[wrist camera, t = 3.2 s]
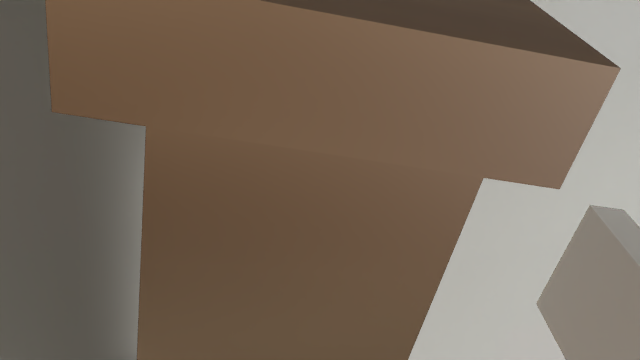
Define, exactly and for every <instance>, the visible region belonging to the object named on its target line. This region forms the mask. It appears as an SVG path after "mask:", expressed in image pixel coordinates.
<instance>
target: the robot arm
mask: <svg viewBox="0 0 640 360" xmlns="http://www.w3.org/2000/svg"><path fill="white" fill-rule="evenodd" d="M536 304H537V306H538V308H539V310H540V312H541V314H542V315H543V317H544V319H545V321H546V323H547V325H548V327H549V329H550V331H551V332H552V334H553V336H554V338H555V340H556V342H557V344H558V346H559V348H560V349H561V351H562V353H563V355H564V357H565V359H566V360H640V228H639V226H638V225H637V224H636V223H635V222H634V221H633V220H632V218H631V217H630V216H629V215H628V214H627V213H626V212H625V211H624V210H621V209H614V208H607V207H600V206H593V205H590V206H589V208H588V210H587V211H586V213H585V215H584V217H583V219H582V221H581V222H580V224H579V226H578V228H577V230H576V232H575V233H574V235H573V237H572V239H571V241H570V243H569V244H568V246H567V248H566V250H565V252H564V254H563V255H562V257H561V259H560V261H559V263H558V265H557V266H556V268H555V270H554V272H553V274H552V276H551V277H550V279H549V281H548V283H547V285H546V287H545V288H544V290H543V292H542V294H541V296H540V298H539V300H538V301H537V303H536Z"/></svg>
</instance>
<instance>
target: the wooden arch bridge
mask: <svg viewBox="0 0 640 360" xmlns="http://www.w3.org/2000/svg"><path fill="white" fill-rule="evenodd" d="M45 4H46V21H47V38H48V55H49V72H50V89H51V106H52V112H55V113H62V114H68V115H75V116H82V117H88V118H95V119H101V120H108V121H114V122H121V123H128V124H134V125H141V126H146V140H145V165H144V190H143V216H142V241H141V267H140V292H139V318H138V343H137V360H408V358H409V356H410V353H411V351H412V348H413V346H414V344H415V341H416V339H417V336H418V334H419V332H420V329H421V327H422V324H423V322H424V320H425V317H426V315H427V312H428V310H429V308H430V305H431V303H432V300H433V298H434V296H435V293H436V291H437V288H438V286H439V284H440V281H441V279H442V276H443V274H444V272H445V269H446V267H447V264H448V262H449V260H450V257H451V255H452V252H453V250H454V248H455V245H456V243H457V240H458V238H459V236H460V233H461V231H462V228H463V226H464V224H465V221H466V219H467V216H468V214H469V212H470V209H471V207H472V204H473V202H474V200H475V197H476V195H477V192H478V190H479V188H480V185H481V183H482V180H483V178H489V179H495V180H502V181H509V182H515V183H522V184H528V185H535V186H541V187H548V188H555V189H560V187H561V185H562V183H563V181H564V179H565V177H566V175H567V173H568V171H569V169H570V167H571V165H572V164H573V162H574V160H575V158H576V156H577V154H578V152H579V150H580V148H581V146H582V144H583V142H584V140H585V138H586V136H587V134H588V132H589V130H590V128H591V126H592V124H593V122H594V120H595V118H596V116H597V114H598V112H599V110H600V108H601V106H602V104H603V102H604V100H605V98H606V96H607V95H608V93H609V91H610V89H611V87H612V85H613V83H614V81H615V79H616V77H617V75H618V73H619V71H620V69H621V68H619V67H618V66H617V65H615V64H614V63H613V62H611V61H610V60H609V59H607V58H606V57H605V56H603V55H602V54H601V53H599V52H598V51H597V50H595V49H594V48H593V47H591V46H590V45H589V44H587V43H586V42H585V41H583V40H582V39H581V38H579V37H578V36H577V35H575V34H574V33H573V32H571V31H570V30H569V29H567V28H566V27H565V26H563V25H562V24H561V23H559V22H558V21H557V20H555V19H554V18H553V17H551V16H550V15H549V14H547V13H546V12H545V11H543V10H542V9H541V8H539V7H538V6H537V5H535V4H534V3H533V2H531V1H530V0H45Z"/></svg>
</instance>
